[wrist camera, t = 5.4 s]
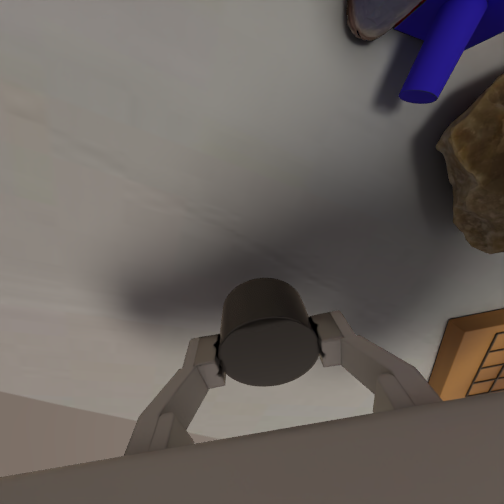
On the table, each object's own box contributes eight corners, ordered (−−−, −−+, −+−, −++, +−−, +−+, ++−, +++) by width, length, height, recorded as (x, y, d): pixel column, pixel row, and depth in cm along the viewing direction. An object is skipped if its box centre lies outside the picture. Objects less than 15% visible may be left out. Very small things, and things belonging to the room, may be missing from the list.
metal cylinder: (298, 269, 11) (317, 307, 8) (305, 331, 13) (322, 377, 10) (212, 287, 11) (203, 329, 8) (233, 345, 13) (232, 394, 10)
